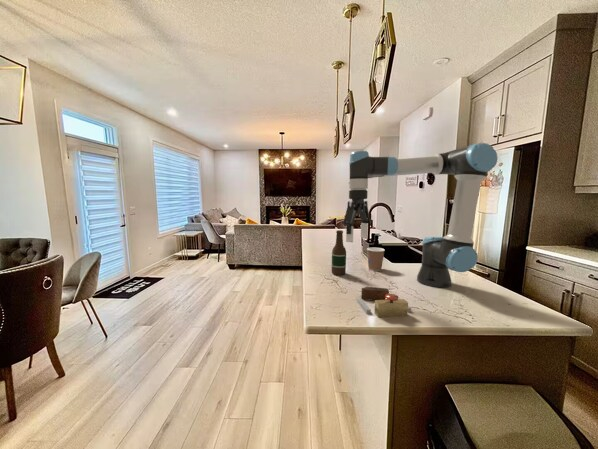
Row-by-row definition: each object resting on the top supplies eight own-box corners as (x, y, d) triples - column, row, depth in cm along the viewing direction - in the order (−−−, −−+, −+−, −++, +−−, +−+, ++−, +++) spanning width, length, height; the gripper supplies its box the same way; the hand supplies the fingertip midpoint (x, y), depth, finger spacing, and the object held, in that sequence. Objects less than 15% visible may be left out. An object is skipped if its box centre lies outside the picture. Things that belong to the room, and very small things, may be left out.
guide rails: (397, 300, 102) (397, 297, 102) (410, 311, 92) (411, 307, 92) (357, 302, 100) (357, 298, 100) (366, 313, 90) (366, 309, 90)
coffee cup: (368, 265, 155) (369, 246, 153) (385, 268, 149) (386, 248, 148) (363, 269, 146) (364, 249, 145) (381, 272, 141) (382, 251, 139)
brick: (387, 298, 104) (387, 288, 104) (388, 302, 101) (388, 291, 100) (361, 296, 107) (361, 285, 107) (361, 299, 103) (361, 288, 103)
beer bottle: (345, 276, 134) (346, 231, 131) (330, 275, 135) (332, 231, 133) (345, 271, 141) (347, 229, 139) (331, 271, 143) (333, 229, 140)
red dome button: (402, 311, 93) (403, 293, 92) (408, 316, 88) (409, 297, 88) (373, 312, 91) (374, 294, 91) (378, 318, 87) (379, 299, 86)
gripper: (362, 190, 116) (361, 235, 118) (335, 189, 97) (334, 242, 99) (378, 190, 111) (377, 236, 114) (352, 188, 92) (351, 245, 94)
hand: (357, 239), depth 106 cm, fingers open, 13 cm apart
